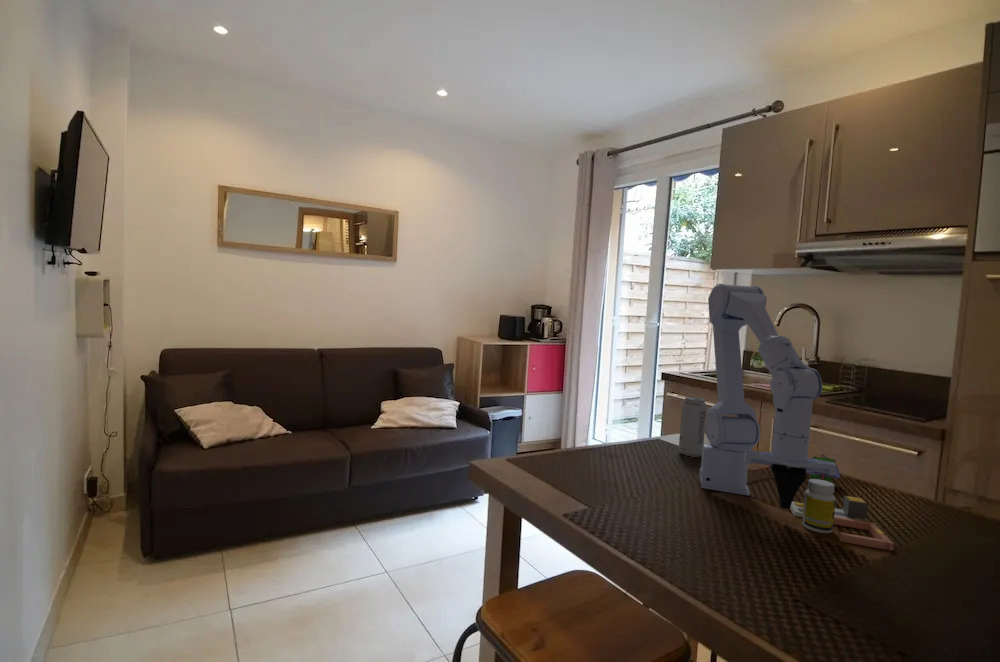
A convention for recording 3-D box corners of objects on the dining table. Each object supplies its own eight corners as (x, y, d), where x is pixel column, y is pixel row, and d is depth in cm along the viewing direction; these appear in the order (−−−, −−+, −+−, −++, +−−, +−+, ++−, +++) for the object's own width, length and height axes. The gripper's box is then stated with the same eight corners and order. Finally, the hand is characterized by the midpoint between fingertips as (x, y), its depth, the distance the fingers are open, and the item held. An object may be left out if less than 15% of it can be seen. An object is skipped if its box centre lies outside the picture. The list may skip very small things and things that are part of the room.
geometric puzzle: (844, 484, 112) (842, 450, 116) (807, 478, 115) (807, 445, 119) (836, 495, 117) (835, 462, 121) (802, 489, 120) (802, 457, 124)
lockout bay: (840, 541, 88) (841, 533, 88) (825, 521, 96) (826, 514, 96) (892, 550, 85) (893, 543, 85) (873, 529, 94) (873, 522, 94)
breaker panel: (794, 515, 98) (794, 510, 98) (787, 504, 103) (788, 499, 103) (865, 527, 94) (865, 522, 94) (854, 515, 100) (854, 510, 100)
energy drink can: (681, 450, 140) (686, 395, 139) (705, 454, 136) (709, 399, 136) (675, 454, 135) (680, 398, 134) (699, 459, 131) (704, 401, 131)
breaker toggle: (847, 515, 96) (849, 500, 96) (842, 509, 99) (844, 495, 99) (866, 518, 95) (867, 503, 95) (860, 512, 98) (862, 497, 98)
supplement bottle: (837, 535, 90) (842, 488, 89) (807, 531, 91) (812, 485, 90) (825, 524, 95) (830, 479, 94) (797, 520, 95) (802, 476, 95)
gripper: (750, 432, 92) (743, 507, 93) (844, 444, 87) (836, 522, 88) (745, 425, 99) (739, 494, 99) (832, 435, 94) (825, 508, 95)
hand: (784, 506), depth 94 cm, fingers closed
